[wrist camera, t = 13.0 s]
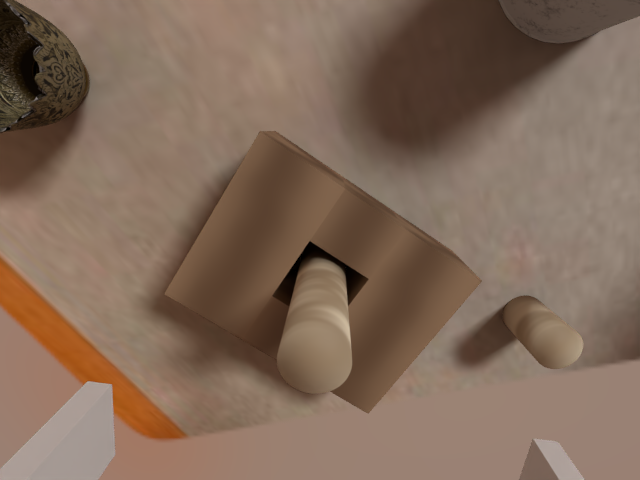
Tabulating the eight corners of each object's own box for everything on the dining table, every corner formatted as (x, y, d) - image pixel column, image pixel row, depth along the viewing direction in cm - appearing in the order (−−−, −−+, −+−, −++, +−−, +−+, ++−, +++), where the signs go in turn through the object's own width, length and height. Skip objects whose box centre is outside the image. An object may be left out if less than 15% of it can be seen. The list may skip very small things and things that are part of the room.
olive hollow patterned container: (21, 127, 27) (-100, 125, 20) (9, 13, 25) (-132, -38, 18) (123, 138, 27) (42, 141, 20) (119, 25, 25) (26, -21, 18)
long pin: (352, 250, 29) (367, 353, 16) (329, 282, 30) (325, 406, 17) (317, 228, 29) (302, 314, 15) (295, 261, 30) (262, 370, 16)
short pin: (551, 309, 30) (593, 343, 25) (524, 338, 31) (559, 376, 26) (521, 288, 30) (557, 318, 25) (494, 318, 30) (524, 353, 26)
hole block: (452, 250, 29) (482, 280, 23) (361, 362, 32) (368, 413, 26) (275, 131, 27) (260, 131, 21) (196, 262, 30) (163, 294, 24)
